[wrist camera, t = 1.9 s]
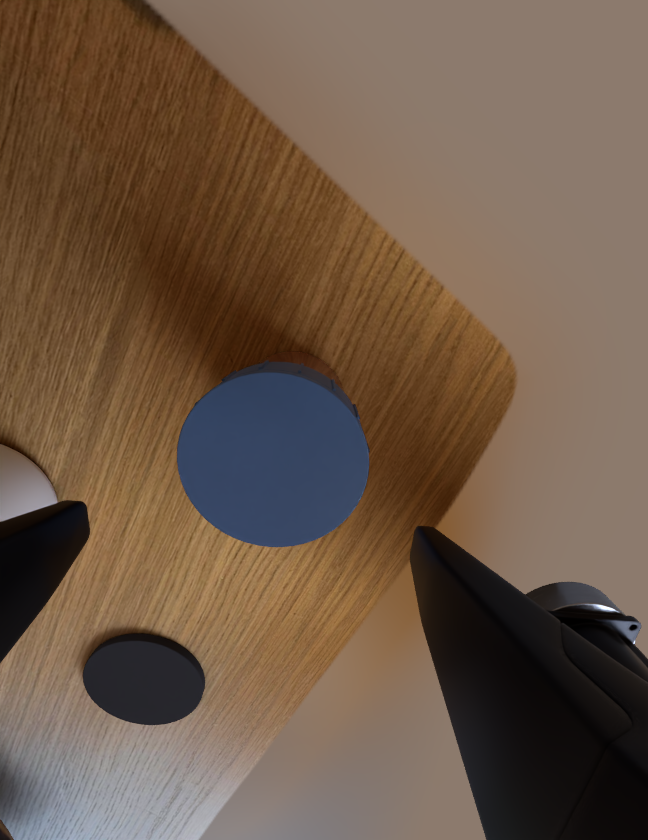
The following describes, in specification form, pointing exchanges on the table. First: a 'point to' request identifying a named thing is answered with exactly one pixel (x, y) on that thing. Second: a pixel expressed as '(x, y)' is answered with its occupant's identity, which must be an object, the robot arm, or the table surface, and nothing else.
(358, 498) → the jar lid
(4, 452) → the mug
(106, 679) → the coaster
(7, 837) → the ceramic bowl
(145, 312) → the table surface
